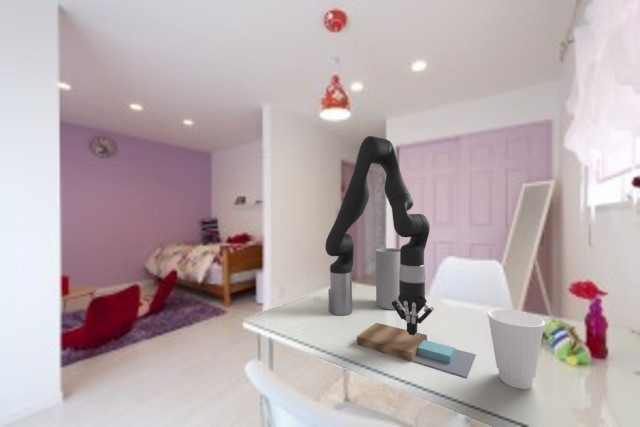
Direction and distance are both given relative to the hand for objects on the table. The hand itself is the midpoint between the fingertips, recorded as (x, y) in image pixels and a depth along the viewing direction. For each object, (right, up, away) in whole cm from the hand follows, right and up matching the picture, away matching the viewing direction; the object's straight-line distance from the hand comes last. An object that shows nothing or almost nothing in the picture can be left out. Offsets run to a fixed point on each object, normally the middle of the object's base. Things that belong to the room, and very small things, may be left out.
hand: (412, 334), depth 88 cm
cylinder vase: (+3, -4, +40) cm, 40 cm away
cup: (+21, -5, -17) cm, 27 cm away
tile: (+6, -4, -4) cm, 8 cm away
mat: (+8, -5, -6) cm, 11 cm away
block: (-5, -5, +4) cm, 8 cm away
